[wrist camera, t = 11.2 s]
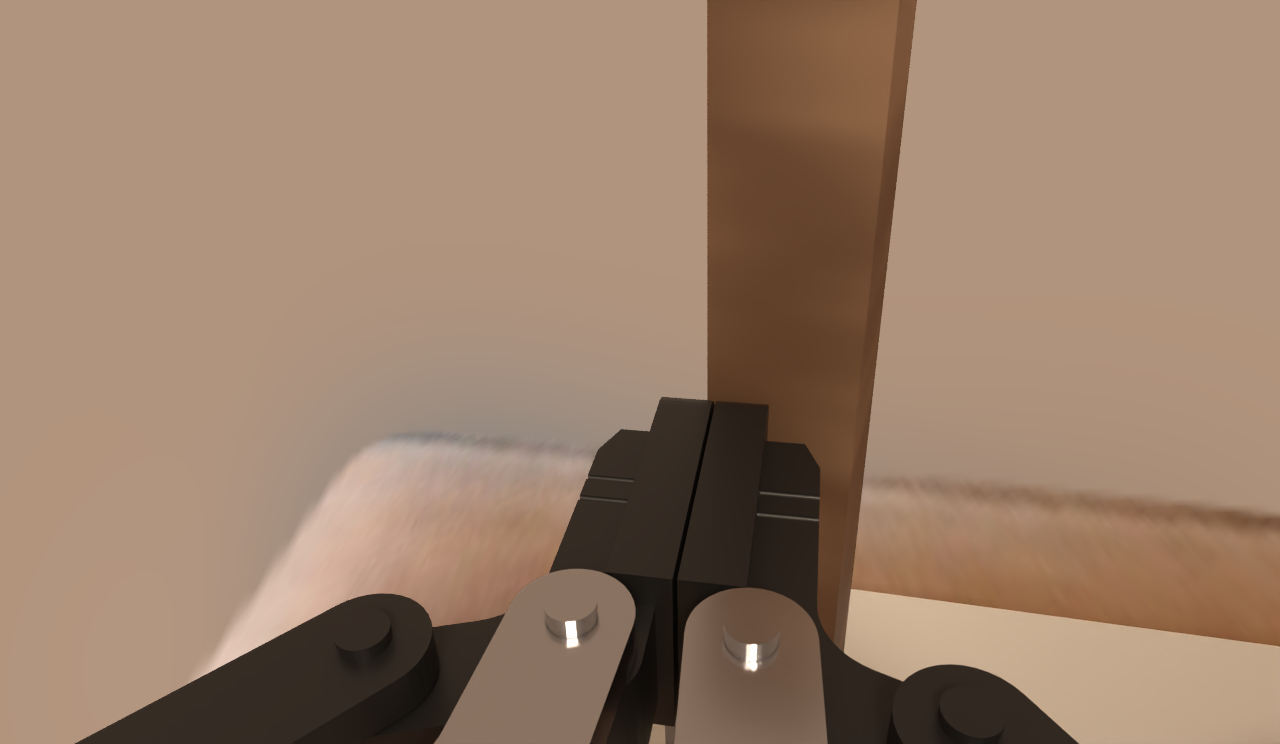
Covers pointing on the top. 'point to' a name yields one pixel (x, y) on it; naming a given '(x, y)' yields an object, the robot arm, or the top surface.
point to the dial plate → (1080, 669)
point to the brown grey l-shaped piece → (805, 234)
